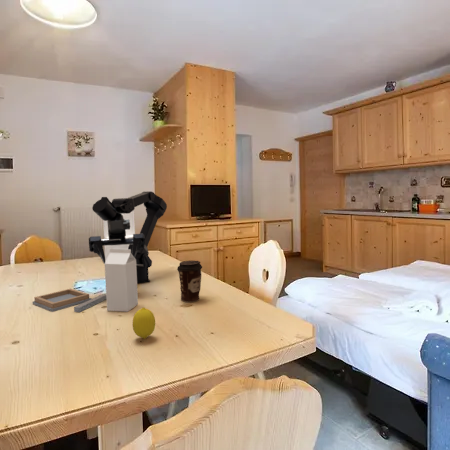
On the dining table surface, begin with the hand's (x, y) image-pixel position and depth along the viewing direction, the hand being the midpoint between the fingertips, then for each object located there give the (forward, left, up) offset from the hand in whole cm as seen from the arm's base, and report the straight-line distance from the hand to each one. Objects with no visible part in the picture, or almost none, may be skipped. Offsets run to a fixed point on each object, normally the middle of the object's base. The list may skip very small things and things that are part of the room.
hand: (119, 262), depth 115 cm
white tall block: (-11, -72, -14) cm, 74 cm away
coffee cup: (-21, +11, -14) cm, 28 cm away
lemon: (0, +35, -14) cm, 38 cm away
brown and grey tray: (+18, -8, -13) cm, 24 cm away
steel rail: (+9, 0, -13) cm, 16 cm away
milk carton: (+1, +8, -14) cm, 16 cm away
